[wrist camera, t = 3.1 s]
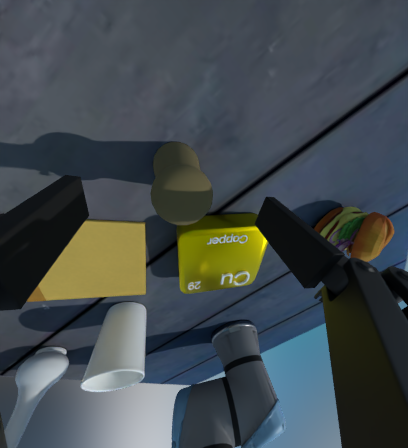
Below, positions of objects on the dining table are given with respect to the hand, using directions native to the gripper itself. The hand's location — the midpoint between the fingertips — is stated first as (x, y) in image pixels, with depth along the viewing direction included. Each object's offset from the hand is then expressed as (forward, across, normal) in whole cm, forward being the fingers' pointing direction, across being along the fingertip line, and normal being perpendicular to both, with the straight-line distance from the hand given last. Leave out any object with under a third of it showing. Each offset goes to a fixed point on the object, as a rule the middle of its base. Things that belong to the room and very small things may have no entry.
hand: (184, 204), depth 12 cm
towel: (+11, +14, +18) cm, 26 cm away
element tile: (+11, -9, +14) cm, 20 cm away
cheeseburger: (+11, -33, +7) cm, 36 cm away
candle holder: (+11, +8, +34) cm, 37 cm away
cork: (+12, 0, 0) cm, 12 cm away
